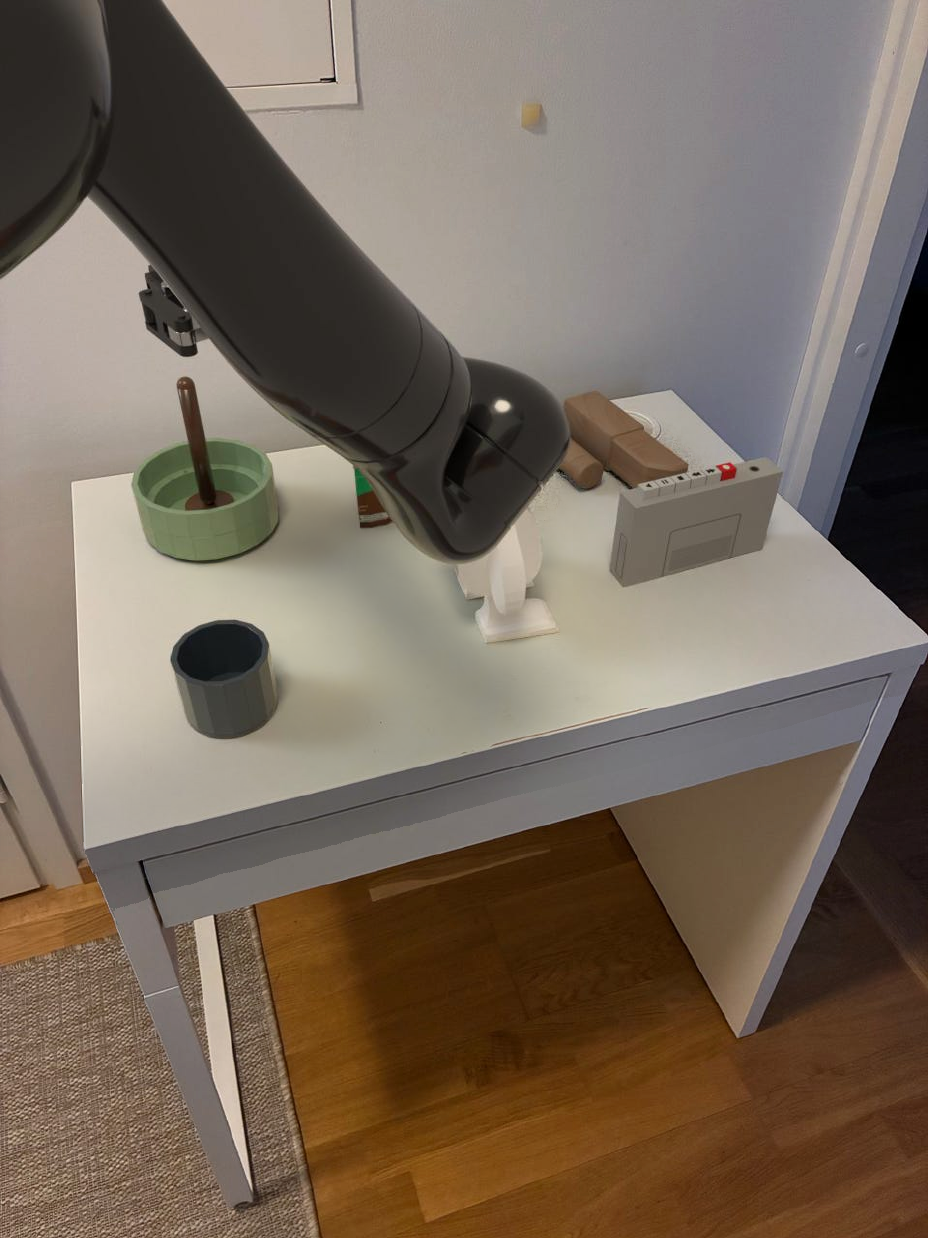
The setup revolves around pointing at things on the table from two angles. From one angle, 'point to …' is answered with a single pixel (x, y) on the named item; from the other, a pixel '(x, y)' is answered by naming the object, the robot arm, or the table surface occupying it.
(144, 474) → the bowl
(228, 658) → the crock
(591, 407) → the wooden block set
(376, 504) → the food container
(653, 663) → the table surface
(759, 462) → the cassette player
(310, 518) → the table surface
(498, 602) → the toy robot
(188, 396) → the brown peg stand
